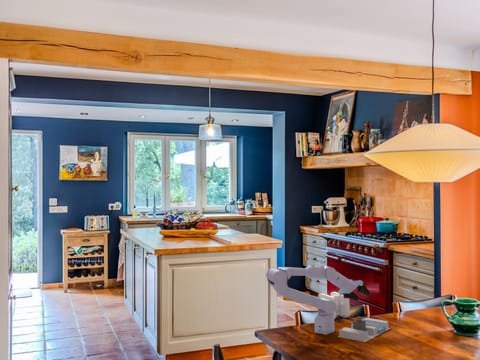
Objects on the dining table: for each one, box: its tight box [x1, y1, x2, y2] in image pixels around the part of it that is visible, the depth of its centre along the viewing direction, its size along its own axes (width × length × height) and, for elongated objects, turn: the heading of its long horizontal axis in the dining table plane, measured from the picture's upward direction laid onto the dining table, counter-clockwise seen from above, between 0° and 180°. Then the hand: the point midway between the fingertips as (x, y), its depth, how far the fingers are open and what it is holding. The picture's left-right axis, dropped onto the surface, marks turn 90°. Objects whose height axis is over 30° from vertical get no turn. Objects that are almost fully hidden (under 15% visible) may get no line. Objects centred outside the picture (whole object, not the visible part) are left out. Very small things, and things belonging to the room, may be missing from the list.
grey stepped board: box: [337, 317, 391, 343], centre depth 218 cm, size 26×13×4 cm, turn 139°
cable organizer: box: [317, 291, 351, 320], centre depth 250 cm, size 15×11×12 cm
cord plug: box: [352, 315, 366, 331], centre depth 214 cm, size 4×4×8 cm
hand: (363, 296), depth 228 cm, fingers open, 7 cm apart
